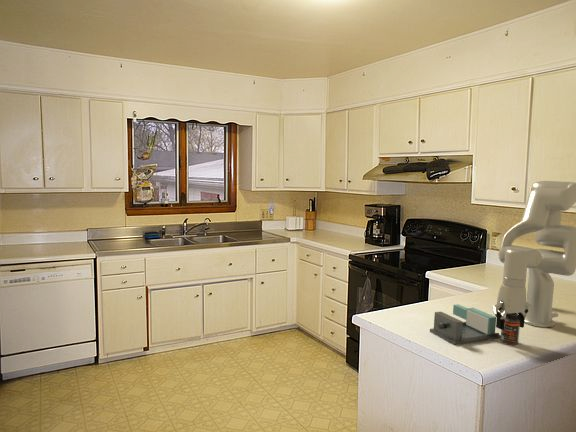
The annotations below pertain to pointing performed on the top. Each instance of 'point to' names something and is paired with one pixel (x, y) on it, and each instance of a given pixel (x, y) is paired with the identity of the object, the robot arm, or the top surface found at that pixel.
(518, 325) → the supplement bottle
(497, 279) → the top surface
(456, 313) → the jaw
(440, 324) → the vise
